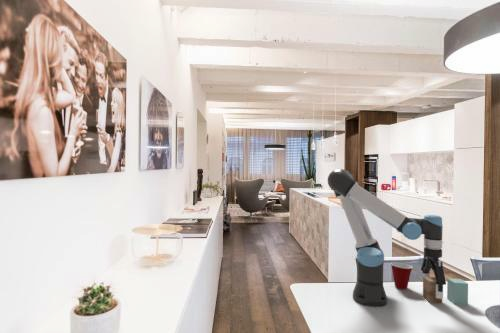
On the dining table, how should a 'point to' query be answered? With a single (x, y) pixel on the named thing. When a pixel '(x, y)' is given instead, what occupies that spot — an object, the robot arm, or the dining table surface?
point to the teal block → (457, 291)
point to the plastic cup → (401, 274)
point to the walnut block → (430, 290)
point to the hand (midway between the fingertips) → (432, 292)
